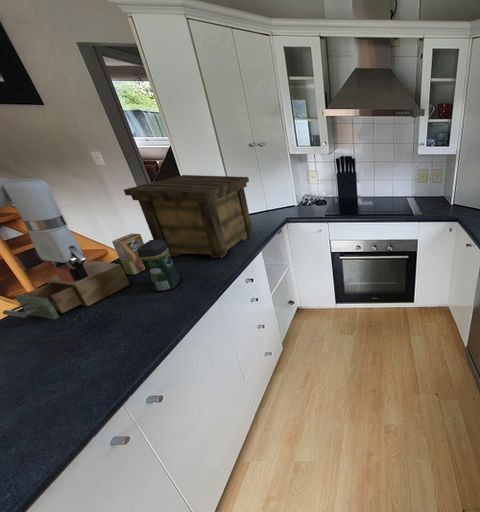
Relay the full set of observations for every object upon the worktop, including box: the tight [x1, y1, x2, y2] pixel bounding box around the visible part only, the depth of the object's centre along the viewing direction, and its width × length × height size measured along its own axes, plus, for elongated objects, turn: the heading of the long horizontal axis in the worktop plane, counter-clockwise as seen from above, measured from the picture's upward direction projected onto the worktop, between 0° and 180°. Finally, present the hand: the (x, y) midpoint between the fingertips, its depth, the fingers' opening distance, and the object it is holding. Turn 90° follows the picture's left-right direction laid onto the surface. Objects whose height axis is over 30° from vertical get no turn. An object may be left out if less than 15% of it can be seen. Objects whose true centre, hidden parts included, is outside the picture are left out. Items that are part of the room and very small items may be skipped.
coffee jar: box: [137, 239, 181, 292], centre depth 104 cm, size 10×8×19 cm
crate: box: [123, 174, 254, 259], centre depth 134 cm, size 35×35×33 cm
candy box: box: [111, 232, 146, 276], centre depth 115 cm, size 9×4×15 cm, turn 175°
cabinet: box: [45, 260, 131, 307], centre depth 100 cm, size 15×13×9 cm
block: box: [53, 261, 89, 283], centre depth 85 cm, size 4×4×4 cm
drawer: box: [2, 283, 84, 320], centre depth 90 cm, size 18×11×7 cm, turn 170°
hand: (74, 277), depth 86 cm, fingers closed on block, 4 cm apart
